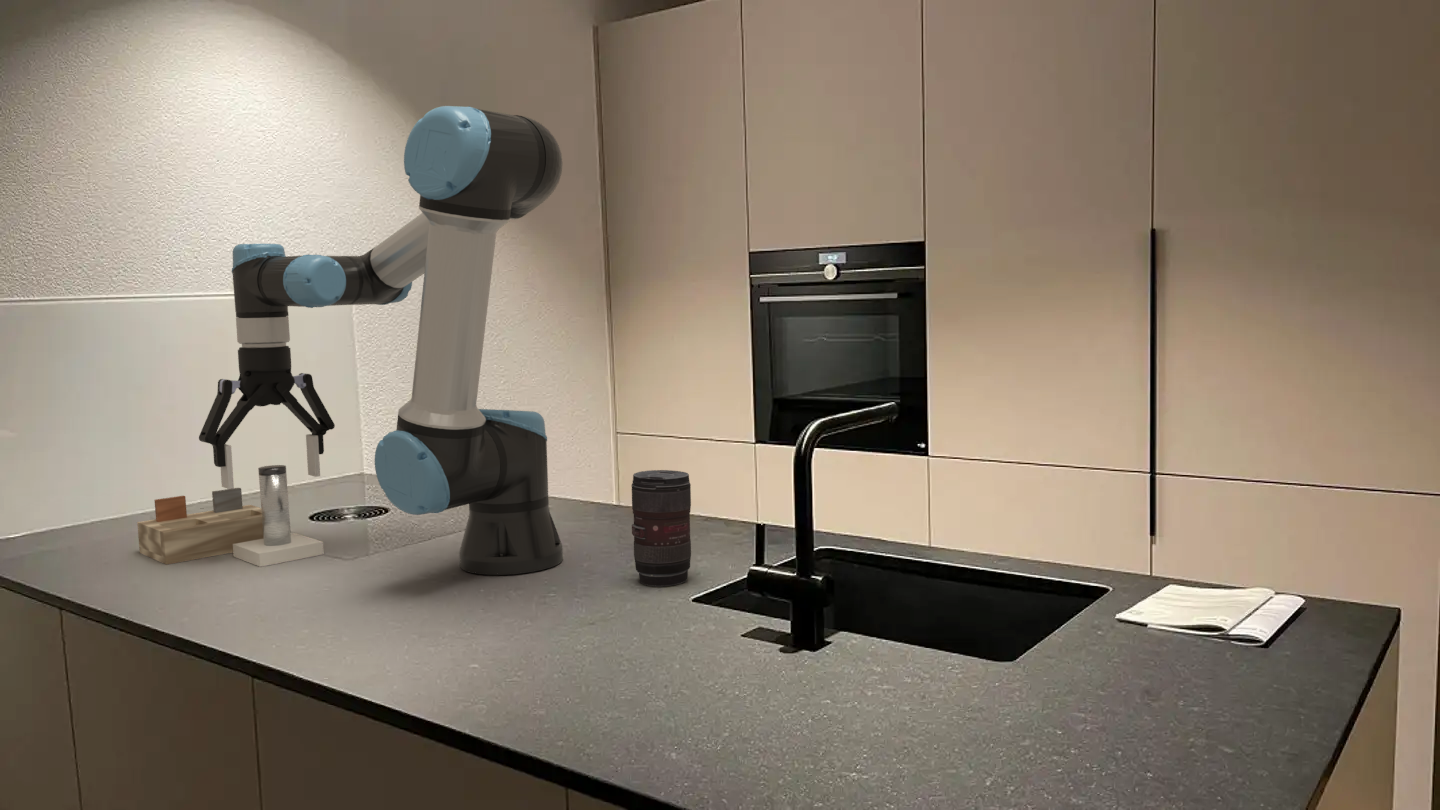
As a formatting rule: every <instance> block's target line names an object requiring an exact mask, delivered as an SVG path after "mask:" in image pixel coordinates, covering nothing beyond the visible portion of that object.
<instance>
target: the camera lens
mask: <svg viewBox="0 0 1440 810" xmlns="http://www.w3.org/2000/svg"><path fill="white" fill-rule="evenodd" d="M691 485H692V484H691V483H690V475H689V473H688V472H685V471H681V470H670V469H669V470H668V469H661V470H659V469H657V470H656V469H655V470H653V469H651V470H643V471H642V470H641V471H638V472H635V473H633V475H632V482H631V508H632V514H633V523H632V524H631V534H632V536H633V558H634V562H635V563H634V564H635V570H636V572H637V573H638V578H639V583H640V584H642V585H644V586H649V587H670V586H676V585H680V584H682V583H685V582H687V581H688V575H689V574H688V573H689V572H688V571H689V569H690V567H691V559H692V557H691V556H692V541H691V516H690V513H691V509H692V508H691V506H692V499H691V497H692V495H691V494H692V493H691V492H692V491H691V490H692V489H691Z"/></svg>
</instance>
